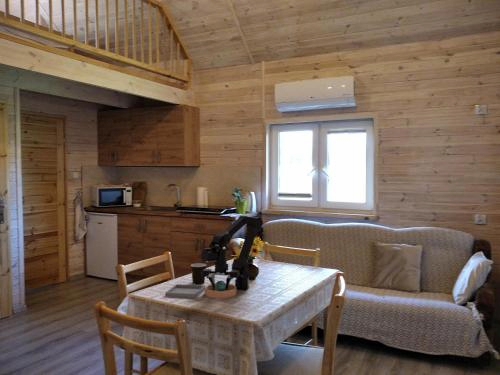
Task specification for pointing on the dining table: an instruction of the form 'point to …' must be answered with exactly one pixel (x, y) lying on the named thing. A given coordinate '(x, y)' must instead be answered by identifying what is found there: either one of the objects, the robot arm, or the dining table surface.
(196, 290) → the tray
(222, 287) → the ball
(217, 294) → the bowl
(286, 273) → the dining table surface
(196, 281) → the coffee mug
